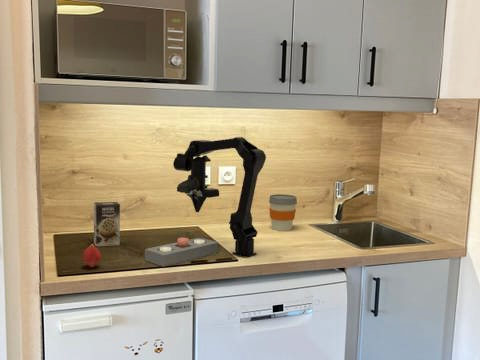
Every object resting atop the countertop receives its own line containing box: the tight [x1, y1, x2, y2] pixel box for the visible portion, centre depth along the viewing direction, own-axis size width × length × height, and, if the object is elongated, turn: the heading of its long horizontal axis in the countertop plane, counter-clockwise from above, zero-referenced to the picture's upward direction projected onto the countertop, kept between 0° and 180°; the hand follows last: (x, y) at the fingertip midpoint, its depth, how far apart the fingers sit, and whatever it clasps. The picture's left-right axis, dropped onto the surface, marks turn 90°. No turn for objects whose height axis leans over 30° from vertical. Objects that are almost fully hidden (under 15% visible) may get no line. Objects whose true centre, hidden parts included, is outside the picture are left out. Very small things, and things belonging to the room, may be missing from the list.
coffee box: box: [93, 201, 121, 247], centre depth 199 cm, size 9×6×16 cm
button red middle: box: [176, 237, 190, 248], centre depth 187 cm, size 4×4×3 cm
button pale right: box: [194, 239, 205, 244], centre depth 193 cm, size 4×4×3 cm
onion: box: [82, 243, 102, 268], centre depth 171 cm, size 6×6×8 cm
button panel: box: [144, 237, 219, 268], centre depth 187 cm, size 10×26×4 cm, turn 137°
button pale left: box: [160, 247, 171, 252], centre depth 181 cm, size 4×4×3 cm
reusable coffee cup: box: [268, 193, 298, 232], centre depth 235 cm, size 13×13×15 cm
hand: (197, 212), depth 202 cm, fingers closed
